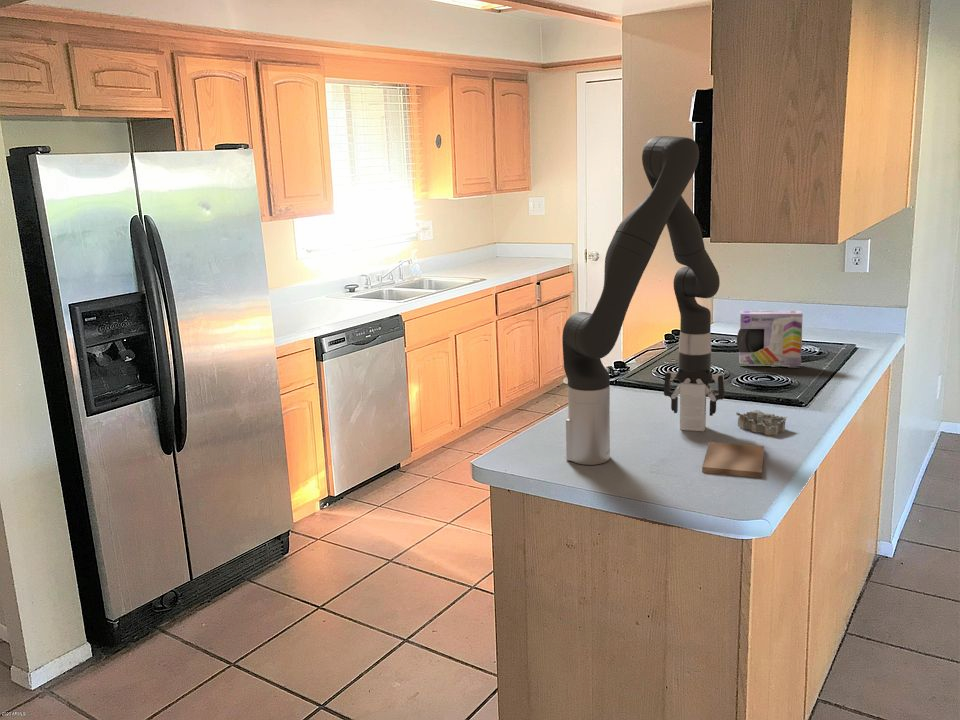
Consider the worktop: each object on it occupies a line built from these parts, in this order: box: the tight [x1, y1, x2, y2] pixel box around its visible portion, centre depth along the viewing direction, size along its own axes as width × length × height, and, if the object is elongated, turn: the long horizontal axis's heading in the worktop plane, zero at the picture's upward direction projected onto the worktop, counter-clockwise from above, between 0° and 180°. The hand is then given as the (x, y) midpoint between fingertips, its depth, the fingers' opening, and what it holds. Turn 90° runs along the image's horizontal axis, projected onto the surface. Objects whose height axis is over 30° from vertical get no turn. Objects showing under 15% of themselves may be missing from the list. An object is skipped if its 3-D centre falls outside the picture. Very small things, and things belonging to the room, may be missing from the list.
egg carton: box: [736, 409, 788, 436], centre depth 195 cm, size 11×8×4 cm
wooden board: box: [701, 441, 765, 478], centre depth 175 cm, size 12×16×1 cm
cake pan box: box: [736, 309, 803, 366], centre depth 248 cm, size 19×5×18 cm, turn 73°
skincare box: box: [679, 382, 707, 432], centre depth 196 cm, size 6×4×12 cm
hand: (693, 413), depth 196 cm, fingers open, 8 cm apart
